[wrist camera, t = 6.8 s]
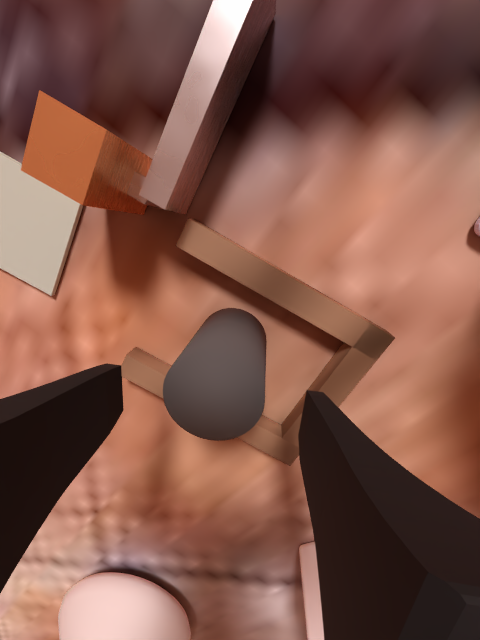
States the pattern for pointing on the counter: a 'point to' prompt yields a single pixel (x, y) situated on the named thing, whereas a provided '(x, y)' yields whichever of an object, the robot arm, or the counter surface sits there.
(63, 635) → the flower in vase
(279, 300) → the frame
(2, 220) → the off-white flat square block
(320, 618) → the medicine bottle
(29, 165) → the latch bar
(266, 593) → the counter surface
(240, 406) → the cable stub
